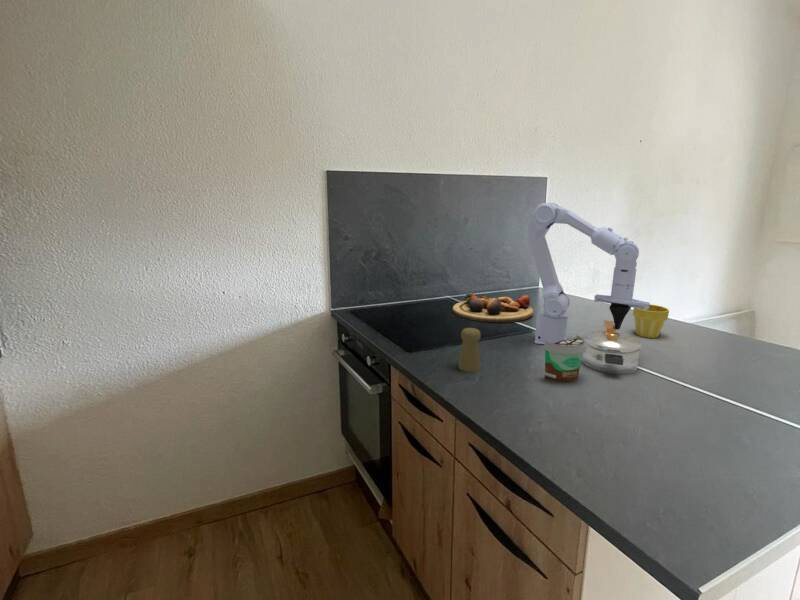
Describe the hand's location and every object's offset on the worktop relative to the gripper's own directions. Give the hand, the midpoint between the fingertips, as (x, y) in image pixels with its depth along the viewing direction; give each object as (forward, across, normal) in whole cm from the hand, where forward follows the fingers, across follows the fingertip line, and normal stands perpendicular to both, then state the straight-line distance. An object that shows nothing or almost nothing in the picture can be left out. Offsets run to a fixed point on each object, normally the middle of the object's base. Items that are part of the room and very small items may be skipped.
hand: (617, 328), depth 127 cm
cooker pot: (+8, -2, +11) cm, 13 cm away
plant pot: (+8, -1, -26) cm, 28 cm away
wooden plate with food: (+8, +52, -13) cm, 54 cm away
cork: (+8, +23, +41) cm, 48 cm away
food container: (+8, +1, +29) cm, 30 cm away
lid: (+1, -1, +8) cm, 8 cm away
